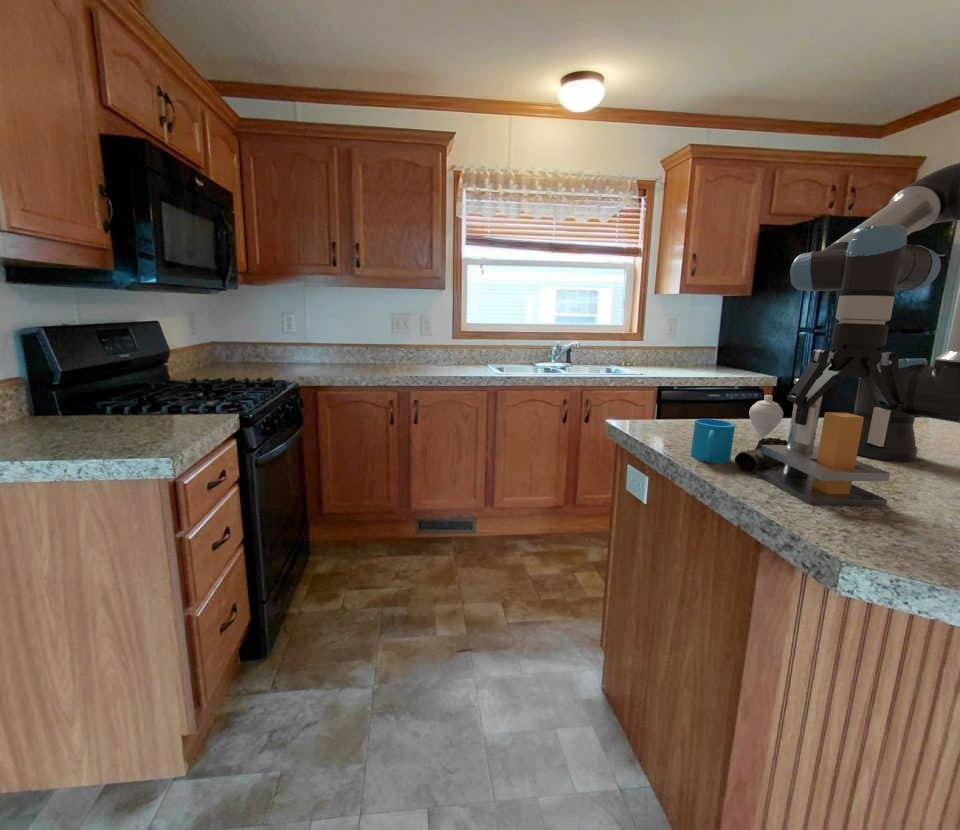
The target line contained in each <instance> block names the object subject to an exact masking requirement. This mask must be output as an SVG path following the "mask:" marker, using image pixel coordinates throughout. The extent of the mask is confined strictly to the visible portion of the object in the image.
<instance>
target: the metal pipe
mask: <svg viewBox="0 0 960 830" xmlns="http://www.w3.org/2000/svg"><path fill="white" fill-rule="evenodd" d="M787 443H788V440H786V439H781V438H780V437H777V438H776V437H768V438H765V437H763V438H762V440H761V439H759V441H758V442H757V446H756V447H755V448H754V449H751V450H746V451H741V452H739V453H737V454H736V456H734V464H735V466H736V468H737V469H738V470H740V471H741V472H743V473H747V474H754V473H755V472H756V470H765V469H766V468H768V467H772V466H775V465H776V466H777V465H778V466H779V465H784V463H783V462H781V461H779V460H776V459H774V458H772V457H770V456H768V455H766V454H764V453H761V452H760V450H761V445H787Z"/></svg>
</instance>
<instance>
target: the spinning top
mask: <svg viewBox="0 0 960 830" xmlns="http://www.w3.org/2000/svg"><path fill="white" fill-rule="evenodd" d="M763 397H764V398H763V399H764V400H758V401H757V402H755V403H754V404H752V406H751V407H750V408H749V412H748V413H749V419H750V421H751V424H752V426H753V427H754V429H755V431H756V433H757V434H758V435H759V437H760V438H761V439H760V440H762V438H765V437H767V436H768V435H769V434H770V433H771V432H773V430H774V429H776V427H778V425H779V424H780V423H781V422H782V420H783V417H784V411H783V408H782V407H781V406H780V404H779V403H777V402H775V401H774V400H773V397H774V396H773V395H769V394H765V395H764V396H763Z"/></svg>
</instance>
